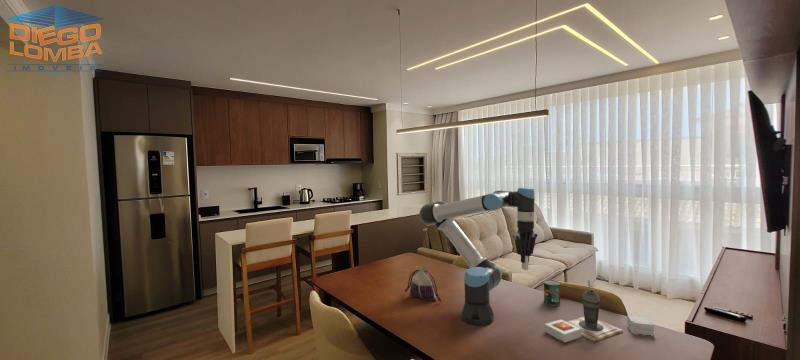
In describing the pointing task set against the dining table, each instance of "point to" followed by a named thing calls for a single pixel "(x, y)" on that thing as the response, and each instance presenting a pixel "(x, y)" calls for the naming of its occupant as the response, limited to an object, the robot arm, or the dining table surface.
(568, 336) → the button housing
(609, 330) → the beige flat square slab
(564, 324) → the button
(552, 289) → the canned tomato
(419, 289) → the pouch
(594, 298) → the beverage cup
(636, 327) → the small box
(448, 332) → the dining table surface
